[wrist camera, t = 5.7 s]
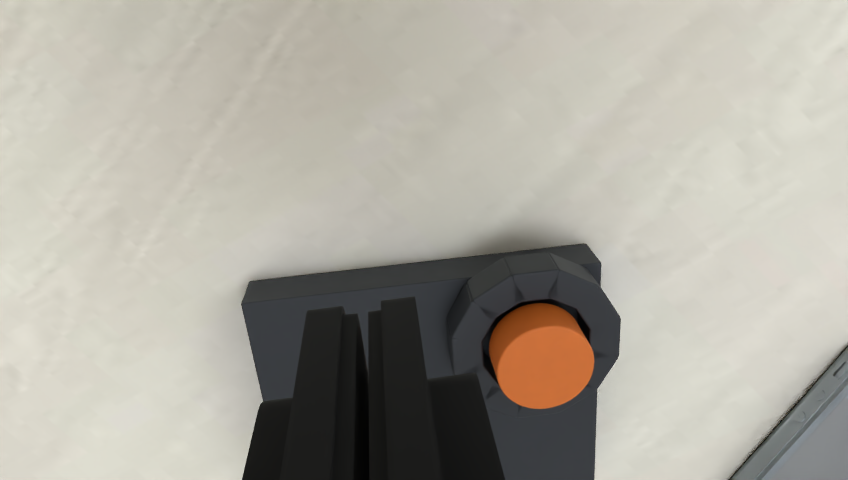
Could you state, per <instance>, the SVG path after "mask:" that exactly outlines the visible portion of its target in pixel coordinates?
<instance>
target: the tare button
mask: <svg viewBox="0 0 848 480" xmlns="http://www.w3.org/2000/svg"><path fill="white" fill-rule="evenodd" d="M489 355H490V358H491V362H492V365H493V368H494V371H495V374H496V377H497V381H498V384H499V386H500V388H501V390H502V391H503V393H504V394H505V395H506V396H507V397H508V398H509V399H510V400H512V401H513V402H515V403H517V404H519V405H521V406H524V407H527V408H533V409H546V408H552V407H556V406H559V405H561V404H564V403H566V402H568V401H570V400H571V399H573V398H574V397H576V396H577V395H578V394H579V393H580V392H581V391H582V390H583V389H584V388H585V386H586V385H587V384H588V382H589V380H590V378H591V376H592V373H593V369H594V354H593V350H592V348H591V346H590V344H589V342H588V340H587V339H586V337H585V335H584V334H583V332H582V330H581V329H580V327H579V325H578V324H577V322H576V320H575V319H574V317H573V316H572V315H571V314H570V313H569V312H567V311H566V310H564V309H563V308H560V307H558V306H555V305H552V304H547V303H533V304H528V305H524V306H521V307H519V308H516V309H515V310H513V311H511V312H510V313H508V314H507V315H506V316H504V317H503V318H502V319H501V320H500V321H499V323H498V324H497V325H496V327H495V328H494V330H493V332H492V335H491V338H490V342H489Z"/></svg>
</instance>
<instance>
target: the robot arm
mask: <svg viewBox="0 0 848 480" xmlns="http://www.w3.org/2000/svg"><path fill="white" fill-rule="evenodd" d="M368 372H369V374H368ZM242 480H505V477H504V473H503V469H502V465H501V462H500V458H499V454H498V450H497V447H496V443H495V439H494V435H493V432H492V428H491V424H490V420H489V416H488V413H487V409H486V405H485V401H484V398H483V394H482V390H481V386H480V383H479V379H478V376H477V374H476V372H475V373H468V374H461V375H453V376H446V377H439V378H431V379H427V375H426V368H425V361H424V354H423V347H422V340H421V333H420V326H419V320H418V313H417V306H416V299H415V296H413V297H405V298H397V299H390V300H382V301H381V310H377V311H369V312H368V368H367V363H366V357H365V351H364V345H363V339H362V333H361V327H360V321H359V316H358V313H354V314H345V310H344V307H343V306H336V307H329V308H321V309H314V310H308V311H307V313H306V319H305V325H304V331H303V337H302V343H301V349H300V356H299V362H298V368H297V374H296V380H295V386H294V392H293V397H291V398H284V399H276V400H269V401H263V402H262V403H261V404H260V407H259V410H258V414H257V418H256V422H255V426H254V431H253V435H252V439H251V444H250V448H249V452H248V456H247V461H246V465H245V469H244V474H243V478H242Z"/></svg>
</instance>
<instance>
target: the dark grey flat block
mask: <svg viewBox="0 0 848 480" xmlns="http://www.w3.org/2000/svg"><path fill="white" fill-rule="evenodd" d="M600 284H601V262H600V261H599V260H598V258H597V257H596V256H595V254H594V253H593V252H592V251H591V249H590V248H589V247H588V246H587V244H578V245H569V246H561V247H552V248H543V249H534V250H525V251H516V252H507V253H498V254H489V255H480V256H472V257H463V258H454V259H445V260H436V261H427V262H418V263H409V264H400V265H391V266H382V267H374V268H365V269H356V270H347V271H338V272H329V273H320V274H311V275H302V276H293V277H285V278H276V279H267V280H258V281H250V282H249V284H248V287H247V289H246V292H245V295H244V298H243V301H242V304H241V305H242V309H243V314H244V318H245V323H246V327H247V331H248V336H249V340H250V345H251V349H252V354H253V358H254V362H255V367H256V371H257V376H258V380H259V384H260V389H261V393H262V398H263V401H269V400H276V399H284V398H291V397H293V392H294V386H295V380H296V374H297V368H298V362H299V356H300V349H301V343H302V337H303V331H304V325H305V319H306V313H307V311H308V310H314V309H321V308H329V307H336V306H343V307H344V310H345V314H354V313H358V316H359V321H360V327H361V333H362V339H363V345H364V351H365V357H366V363H367V368H368V312H369V311H377V310H381V301H382V300H390V299H397V298H405V297H413V296H415V299H416V306H417V313H418V320H419V326H420V333H421V340H422V347H423V354H424V361H425V368H426V375H427V379H431V378H439V377H446V376H453V375H461V374H468V373H475V372H476V374H477V376H478V379H479V383H480V386H481V390H482V394H483V398H484V401H485V405H486V409H487V413H488V416H489V420H490V424H491V428H492V432H493V435H494V439H495V443H496V447H497V450H498V454H499V458H500V462H501V465H502V469H503V473H504V477H505V480H594V470H595V439H596V408H597V389H598V387H599V386H600V384H601V383H602V381H603V380H604V378H605V377H606V375H607V374H608V372H609V371H610V369H611V368H612V366H613V365H614V363H615V362H616V360H617V359H618V356H619V342H620V321H621V319H620V316H619V315H618V313H617V311H616V310H615V308H614V307H613V305H612V304H611V302H610V301H609V299H608V298H607V296H606V295H605V293H604V292H603V290H602V289H601V287H600ZM533 303H547V304H552V305H555V306H558V307H560V308H563V309H564V310H566V311H567V312H569V313H570V314H571V315H572V316H573V317H574V319H575V320H576V322H577V324H578V325H579V327H580V329H581V330H582V332H583V334H584V335H585V337H586V339H587V340H588V342H589V344H590V346H591V348H592V350H593V354H594V369H593V373H592V376H591V378H590V380H589V382H588V384H587V385H586V386H585V388H584V389H583V390H582V391H581V392H580V393H579V394H578V395H577V396H576V397H574V398H573V399H571V400H570V401H568V402H566V403H564V404H561V405H559V406H556V407H552V408H546V409H533V408H527V407H524V406H521V405H519V404H517V403H515V402H513V401H512V400H510V399H509V398H508V397H507V396H506V395H505V394H504V393H503V391H502V390H501V388H500V386H499V384H498V381H497V377H496V374H495V371H494V368H493V365H492V362H491V358H490V355H489V342H490V338H491V335H492V332H493V330H494V328H495V327H496V325H497V324H498V323H499V321H500V320H501V319H502V318H503V317H504V316H506V315H507V314H508V313H510V312H511V311H513V310H515V309H516V308H519V307H521V306H524V305H528V304H533ZM368 374H369V372H368Z"/></svg>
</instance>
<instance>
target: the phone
mask: <svg viewBox="0 0 848 480" xmlns="http://www.w3.org/2000/svg"><path fill="white" fill-rule="evenodd" d="M730 480H848V347H847V348H846V349H845V351H844V352H843V353H842V354H841V355H840V356H839V357H838V358H837V360H836V361H835V362H834V363H833V364H832V365H831V366H830V367H829V369H828V370H827V371H826V372H825V373H824V374H823V375H822V376H821V378H820V379H819V380H818V381H817V382H816V383H815V384H814V385H813V387H812V388H811V389H810V390H809V391H808V392H807V393H806V395H805V396H804V397H803V398H802V399H801V400H800V401H799V402H798V404H797V405H796V406H795V407H794V408H793V409H792V410H791V411H790V413H789V414H788V415H787V416H786V417H785V418H784V419H783V420H782V422H781V423H780V424H779V425H778V426H777V427H776V428H775V430H774V431H773V432H772V433H771V434H770V435H769V436H768V437H767V439H766V440H765V441H764V442H763V443H762V444H761V445H760V446H759V448H758V449H757V450H756V451H755V452H754V453H753V454H752V455H751V457H750V458H749V459H748V460H747V461H746V462H745V463H744V464H743V466H742V467H741V468H740V469H739V470H738V471H737V472H736V474H735V475H734V476H733V477H732V478H731V479H730Z"/></svg>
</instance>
